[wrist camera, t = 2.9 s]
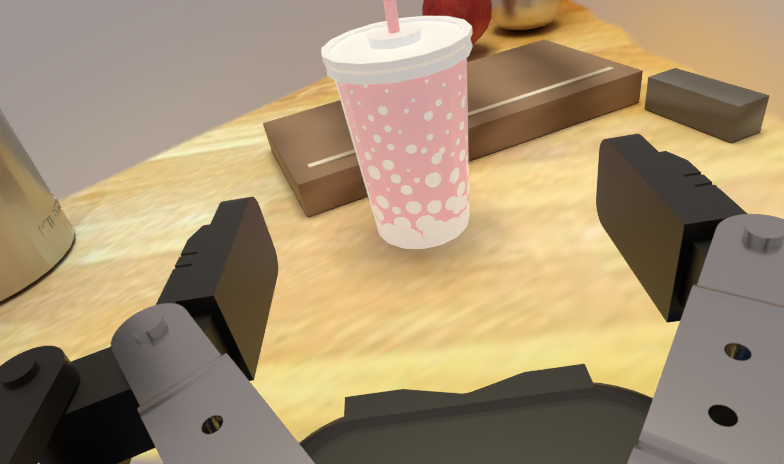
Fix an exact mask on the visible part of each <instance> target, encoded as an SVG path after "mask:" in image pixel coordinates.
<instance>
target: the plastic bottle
mask: <svg viewBox="0 0 784 464" xmlns="http://www.w3.org/2000/svg"><path fill="white" fill-rule="evenodd" d="M491 2H492V12H491V15H492V19H493V20H494V22H495V23H496V25H497V26H498V27H500V28H503V29H508V30H528V29H533V28H537V27H541V26H545V25H547V24H549V23H551V22H553V20H554V19H555V17H556V16H557V14H558V12H559V9H560V3H561V0H491Z"/></svg>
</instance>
